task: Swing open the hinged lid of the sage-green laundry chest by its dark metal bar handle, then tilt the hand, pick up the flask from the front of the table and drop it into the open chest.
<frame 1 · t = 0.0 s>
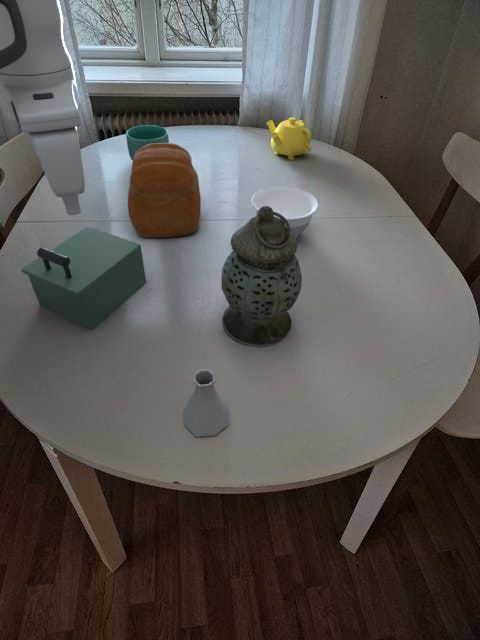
hand: (68, 197, 62), 27 cm above the table, tool pointing down, fingers open, 8 cm apart
chest: (95, 294, 88), on the table
chest lid: (81, 248, 80), point 11 cm above the table, hinge at 0.0°
bread: (167, 217, 111), on the table
mug: (151, 166, 134), on the table
teapot: (285, 154, 143), on the table
lantern: (257, 324, 83), on the table
flask: (206, 418, 67), on the table
bowl: (281, 233, 107), on the table
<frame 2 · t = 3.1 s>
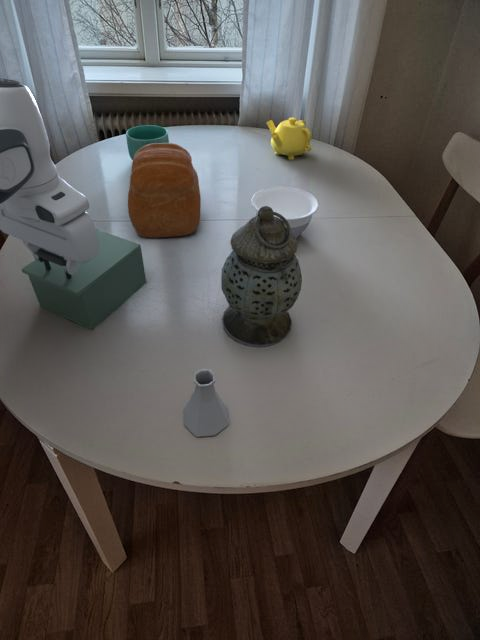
hand: (56, 265, 76), 11 cm above the table, tool pointing down, fingers closed on chest lid, 6 cm apart
chest lid: (81, 248, 80), point 11 cm above the table, hinge at -0.1°, touching gripper
everything else where it was.
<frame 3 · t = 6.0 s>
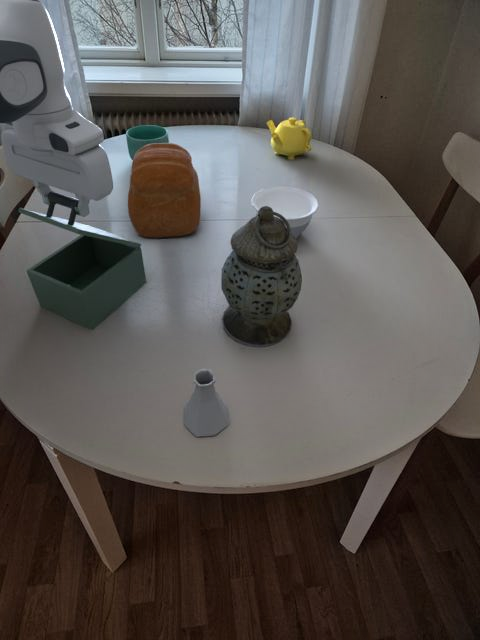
hand: (67, 209, 74), 20 cm above the table, tool pointing down, fingers closed on chest lid, 6 cm apart
chest lid: (87, 217, 79), point 16 cm above the table, hinge at 37.7°, touching gripper
everything else where it was.
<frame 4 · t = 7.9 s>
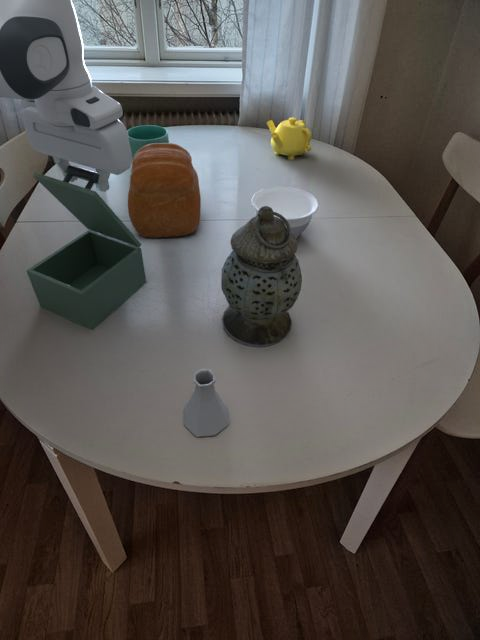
hand: (87, 185, 76), 22 cm above the table, tool pointing down, fingers closed on chest lid, 6 cm apart
chest lid: (97, 202, 80), point 18 cm above the table, hinge at 59.8°, touching gripper
everything else where it was.
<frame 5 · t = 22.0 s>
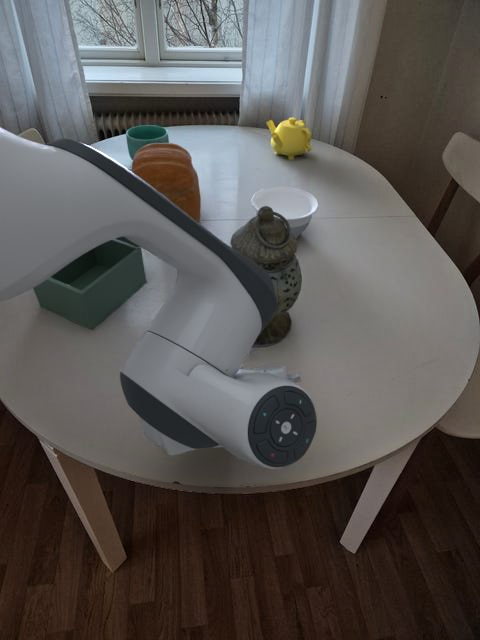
hand: (203, 393, 64), 5 cm above the table, tool tilted 45°, fingers closed on flask, 3 cm apart
chest lid: (96, 203, 80), point 18 cm above the table, hinge at 58.3°
flask: (206, 418, 67), on the table, touching gripper
everything else where it was.
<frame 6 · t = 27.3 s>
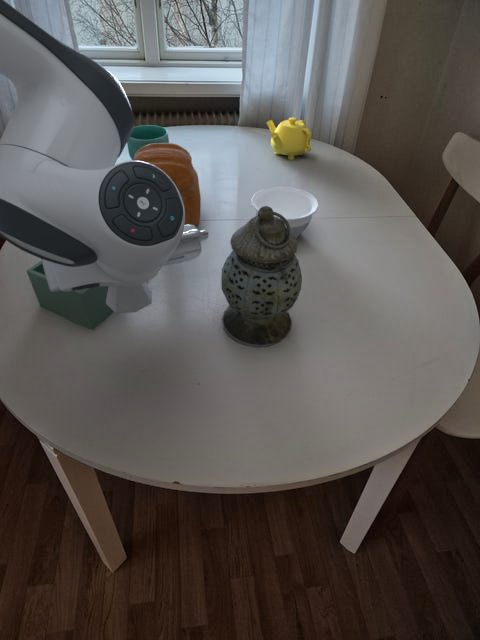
hand: (122, 268, 63), 19 cm above the table, tool tilted 45°, fingers closed on flask, 3 cm apart
flask: (129, 299, 67), point 14 cm above the table, touching gripper
everything else where it was.
when the fingers open (12 cm above the table, at t = 33.0 s): flask drops 6 cm, resting on chest.
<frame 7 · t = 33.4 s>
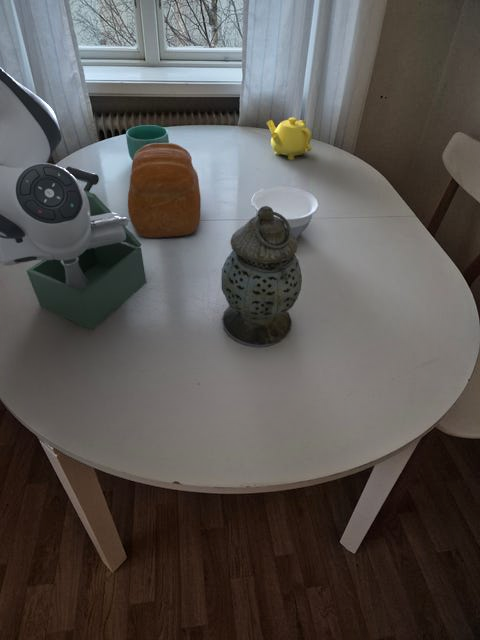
hand: (66, 249, 78), 12 cm above the table, tool tilted 45°, fingers open, 7 cm apart
flask: (82, 301, 86), point 1 cm above the table, touching chest
everything else where it was.
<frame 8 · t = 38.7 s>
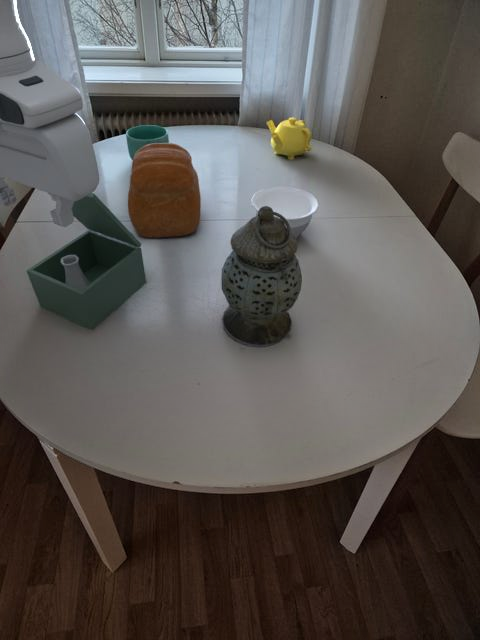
hand: (35, 212, 51), 31 cm above the table, tool pointing down, fingers open, 8 cm apart
nothing on the table moved.
at the end: chest lid at +58° (first picture: +0°); flask inside the target area in the chest (3.5 cm from its centre), point 0.6 cm above the chest's base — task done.
